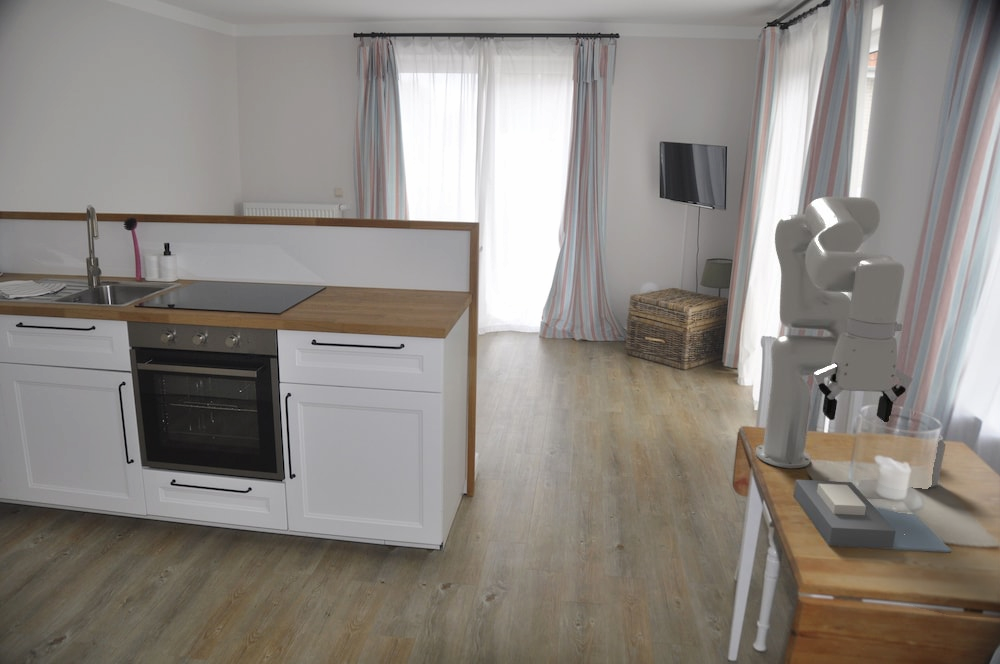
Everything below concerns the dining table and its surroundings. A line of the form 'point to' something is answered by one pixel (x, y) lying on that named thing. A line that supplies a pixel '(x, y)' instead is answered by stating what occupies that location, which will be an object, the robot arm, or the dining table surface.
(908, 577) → the dining table surface
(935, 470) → the can
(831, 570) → the dining table surface
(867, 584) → the dining table surface
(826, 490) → the tile
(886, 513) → the mat
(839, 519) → the panel
